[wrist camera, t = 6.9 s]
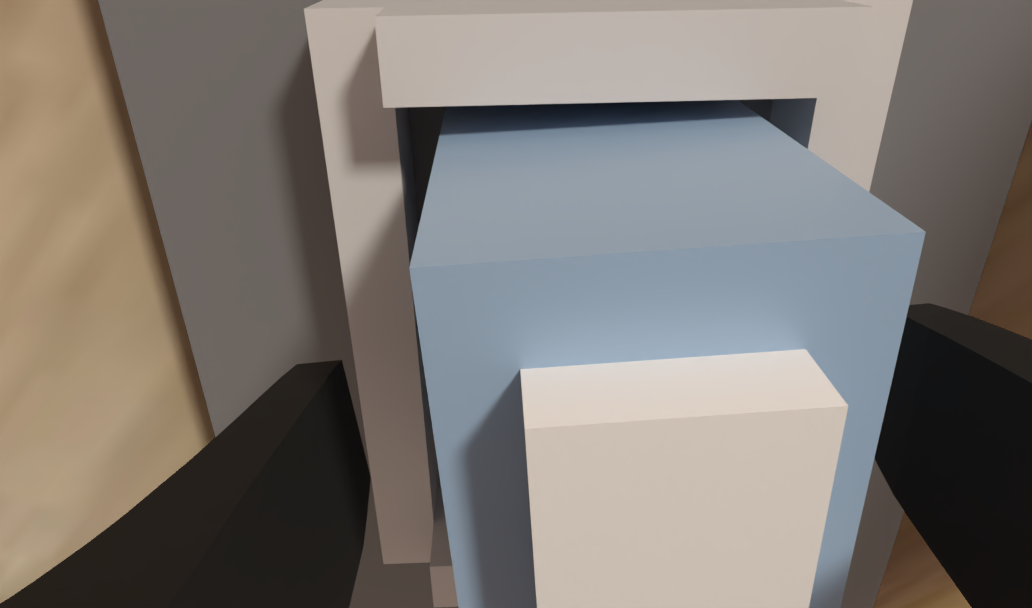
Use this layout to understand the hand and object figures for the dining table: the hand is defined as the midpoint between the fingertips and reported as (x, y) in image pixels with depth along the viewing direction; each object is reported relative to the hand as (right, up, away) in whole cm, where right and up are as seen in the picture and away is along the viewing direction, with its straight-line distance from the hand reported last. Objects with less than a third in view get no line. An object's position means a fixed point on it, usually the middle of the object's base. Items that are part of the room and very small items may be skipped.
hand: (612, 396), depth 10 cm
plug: (0, +2, +2) cm, 3 cm away
